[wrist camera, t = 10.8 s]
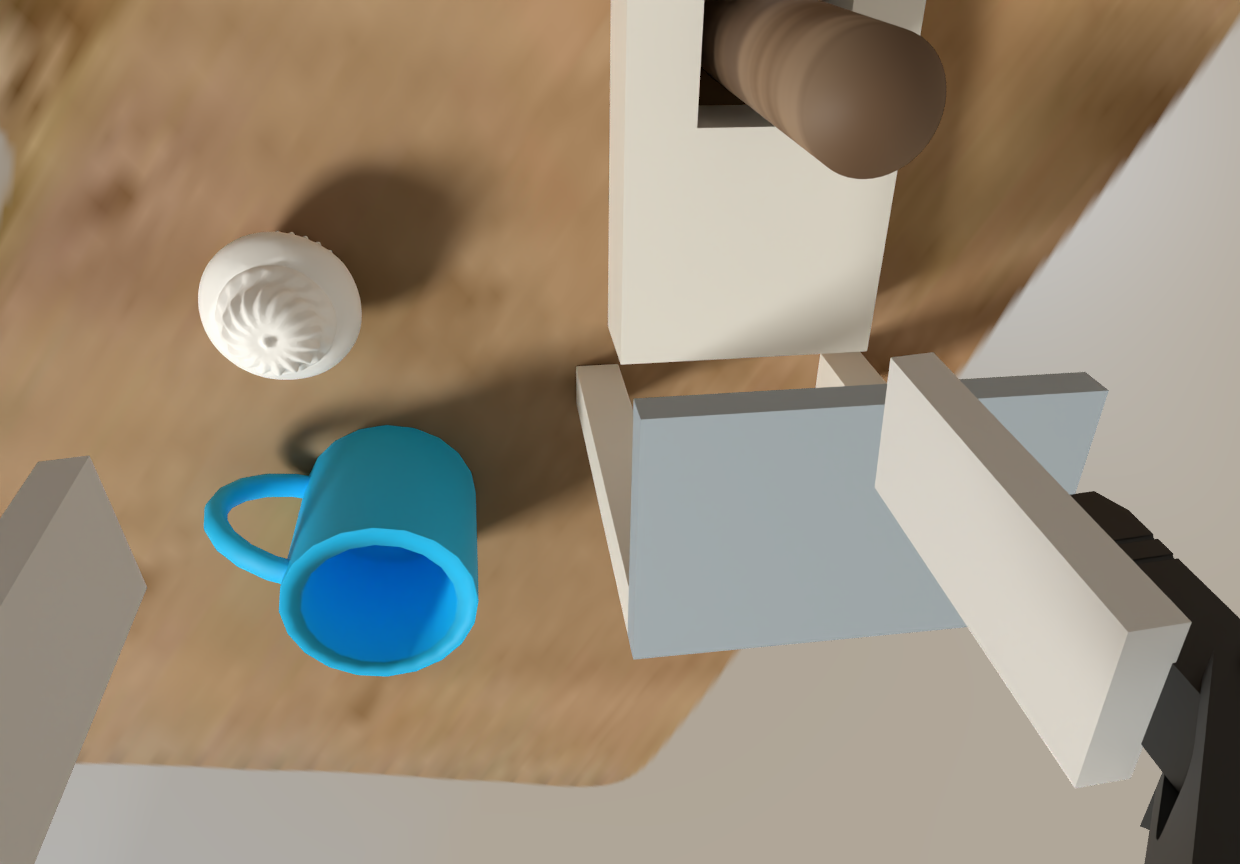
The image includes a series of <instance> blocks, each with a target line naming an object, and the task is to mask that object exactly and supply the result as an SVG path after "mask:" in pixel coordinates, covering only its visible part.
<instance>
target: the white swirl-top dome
mask: <svg viewBox="0 0 1240 864" xmlns="http://www.w3.org/2000/svg"><path fill="white" fill-rule="evenodd" d="M198 305H199V312H200V316H201V320H202V323H203V326H204V329H205V331H206V333H207V335H208V337H209V338H210V340H211V342H212V343H213V344H214V346H215V347H216V348H217V349H218V350H219V351H220V352H221V353H222V354H223V355H224V356H225V357H226V358H227V359H228V360H230V361H231V362H232V363H234V364H235V365H237V366H238V367H240V368H242V369H244V370H246V371H248V372H250V373H253V374H255V375H258V376H262V377H266V378H271V379H281V380H290V379H301V378H307V377H311V376H315V375H318V374H321V373H323V372H325V371H327V370H329V369H331V368H332V367H334V366H335V365H336V364H338V363H339V362H340V361H341V360H342V359H343V358H344V357H345V356H346V355H347V354H348V352H349V351H350V350H351V348H352V347H353V345H354V344H355V341H356V340H357V337H358V334H359V331H360V327H361V319H362V310H361V301H360V296H359V293H358V289H357V287H356V284H355V282H354V279H353V277H352V275H351V274H350V272H349V270H348V269H347V267H346V266H345V265H344V263H343V262H342V261H341V260H340V259H339V258H338V257H337V256H336V255H334V254H333V253H332V250H328V249H326V248H324V247H323V246H321V243H320V242H313V241H311V240H309V239H308V237H307V236H303V237H301V236H297V235H295V234H294V233H293V232H290V233H282V232H279V231H278V230H277V231H276V232H259V233H253V234H249V235H246V236H243V237H240V238H238V239H236V240H234V241H232V242H231V243H229V244H227V245H226V246H225V247H223V248H222V249H221V250H220V251H219V252H218V253H217V254H216V255H215V256H214V257H213V258H212V259H211V260H210V262H209V263H208V265H207V266H206V268H205V270H204V272H203V275H202V278H201V281H200V285H199V294H198Z"/></svg>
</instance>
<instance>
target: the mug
mask: <svg viewBox="0 0 1240 864" xmlns="http://www.w3.org/2000/svg"><path fill="white" fill-rule="evenodd" d="M264 497H298V498H303V500H302V504H301V508H300V511H299V515H298V519H297V523H296V527H295V531H294V535H293V539H292V543H291V547H290V551H289V555H288V559H285V558H282V557H278V556H275V555H273V554H271V553H269V552H266V551H264V550H262V549H260V548H258V547H256V546H254V545H252V544H250V543H249V542H248V541H246V540H245V539H244V538H242V537H241V536H240V535H239V534H237V533H236V532H235V531H234V530H233V528H232V527H231V525H230V524H229V522H228V520H227V514H228V513H229V511H230V510H231V509H232V508H233V507H235V506H237V505H239V504H241V503H243V502H245V501H249V500H254V499H259V498H264ZM204 530H205V532H206V534H207V535H208V537H209V539H210V540H211V542H212V544H213V545H214V547H215V549H216V550H217V551H218V552H220V553H221V554H222V555H223V556H225V557H226V558H227V559H229V560H230V561H231V562H232V563H234V564H235V565H236V566H237V567H239V568H242V569H244V570H246V571H248V572H250V573H252V574H254V575H257V576H259V577H261V578H263V579H265V580H268V581H272V582H276V583H279V584H281V586H280V602H279V613H280V615H281V618H282V620H283V623H284V625H285V628H286V630H287V633H288V635H289V636H290V637H291V638H292V639H293V640H294V641H295V642H296V643H297V644H298V646H299V647H300V648H301V649H302V650H303V651H304V652H305V653H306V654H308V655H310V656H311V657H313V658H315V659H316V660H318V661H320V662H322V663H323V664H325V665H327V666H328V667H331V668H334V669H338V670H342V671H345V672H349V673H352V674H356V675H368V676H392V675H398V674H403V673H409V672H415V671H418V670H420V669H422V668H425V667H427V666H429V665H431V664H434V663H436V662H438V661H441V660H442V659H443V658H445V657H446V656H447V655H448V654H450V653H451V652H452V651H453V650H454V649H456V648H457V647H458V646H459V645H461V644H462V642H463V641H464V639H465V638H466V636H467V634H468V633H469V631H470V630H471V628H472V626H473V625H474V623H475V617H476V612H477V606H478V561H477V520H476V492H475V487H474V483H473V478H472V474H471V471H470V470H469V468H468V467H467V465H466V464H465V462H464V461H463V459H462V458H461V456H460V454H459V453H458V452H457V451H455V450H454V449H453V448H451V447H450V446H449V445H448V444H446V443H445V442H444V441H443V440H441V439H440V438H438V437H436V436H433V435H431V434H428V433H426V432H423V431H421V430H418V429H416V428H410V427H401V426H391V425H383V426H377V427H371V428H365V429H359V430H357V431H355V432H353V433H351V434H348V435H346V436H344V437H342V438H340V439H338V440H336V441H335V442H334V443H333V444H331V445H330V446H329V447H328V448H327V449H326V450H325V451H324V452H323V453H322V454H321V455H320V456H319V457H318V458H317V460H316V462H315V464H314V466H313V469H312V471H311V473H310V475H309V476H306V475H300V474H263V475H257V476H251V477H246V478H241V479H238V480H236V481H234V482H232V483H230V484H228V485H225V486H223V487H221V488H220V489H219V490H218V491H217V492H216V493H215V494H214V496H213V497H212V498H211V499H210V500H209V502H208V503H207V504H206V506H205V511H204Z"/></svg>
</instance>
